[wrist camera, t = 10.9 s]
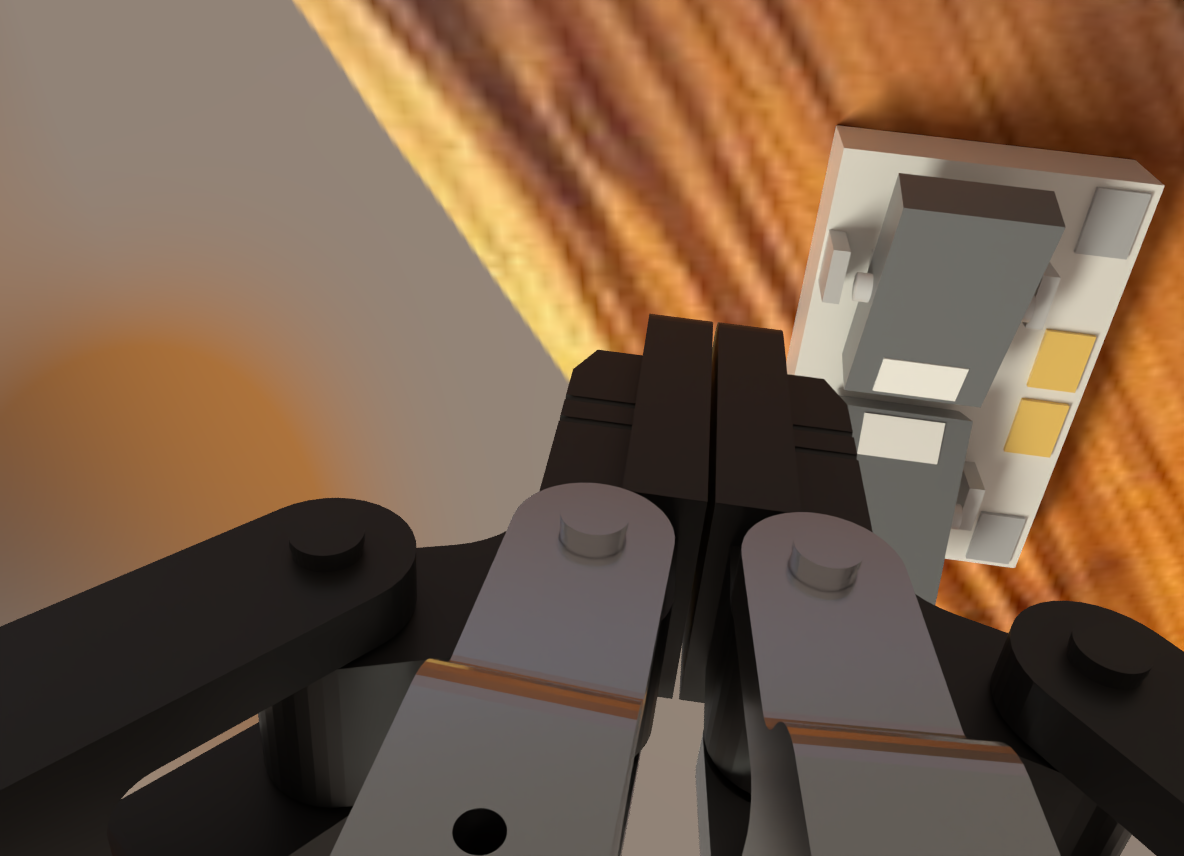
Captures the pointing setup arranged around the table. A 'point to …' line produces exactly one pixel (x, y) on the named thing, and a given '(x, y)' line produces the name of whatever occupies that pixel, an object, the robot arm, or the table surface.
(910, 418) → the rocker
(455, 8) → the table surface
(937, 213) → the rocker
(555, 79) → the table surface
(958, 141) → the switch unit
